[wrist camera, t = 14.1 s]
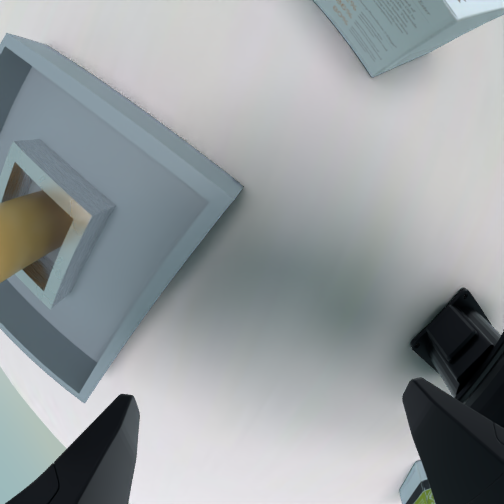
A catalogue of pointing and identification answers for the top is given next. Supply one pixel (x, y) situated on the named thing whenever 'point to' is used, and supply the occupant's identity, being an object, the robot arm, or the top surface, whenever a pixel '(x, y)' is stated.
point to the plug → (30, 231)
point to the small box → (404, 26)
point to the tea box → (416, 487)
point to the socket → (70, 200)
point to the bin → (121, 219)
